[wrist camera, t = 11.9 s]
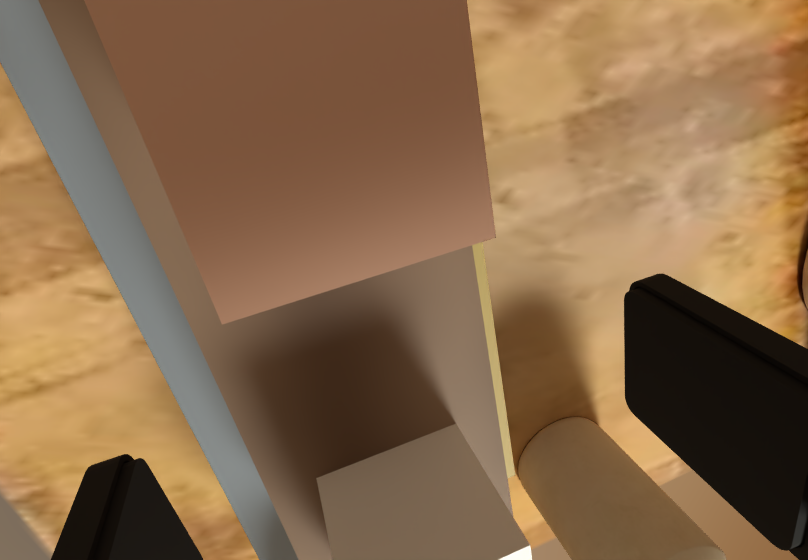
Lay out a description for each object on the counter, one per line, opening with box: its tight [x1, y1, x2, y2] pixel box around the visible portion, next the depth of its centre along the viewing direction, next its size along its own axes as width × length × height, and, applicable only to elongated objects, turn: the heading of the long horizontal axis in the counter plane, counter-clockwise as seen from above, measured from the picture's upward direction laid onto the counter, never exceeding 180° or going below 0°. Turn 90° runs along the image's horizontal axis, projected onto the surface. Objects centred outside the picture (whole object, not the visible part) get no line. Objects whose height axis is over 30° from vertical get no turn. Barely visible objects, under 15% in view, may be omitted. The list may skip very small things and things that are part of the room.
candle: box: [518, 417, 726, 560], centre depth 25 cm, size 6×6×10 cm
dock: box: [0, 0, 515, 560], centre depth 18 cm, size 11×24×4 cm, turn 12°
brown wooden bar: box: [38, 0, 513, 560], centre depth 14 cm, size 6×20×4 cm, turn 12°
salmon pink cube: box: [84, 0, 496, 325], centre depth 8 cm, size 4×4×4 cm
